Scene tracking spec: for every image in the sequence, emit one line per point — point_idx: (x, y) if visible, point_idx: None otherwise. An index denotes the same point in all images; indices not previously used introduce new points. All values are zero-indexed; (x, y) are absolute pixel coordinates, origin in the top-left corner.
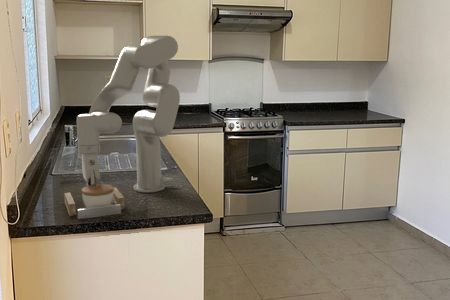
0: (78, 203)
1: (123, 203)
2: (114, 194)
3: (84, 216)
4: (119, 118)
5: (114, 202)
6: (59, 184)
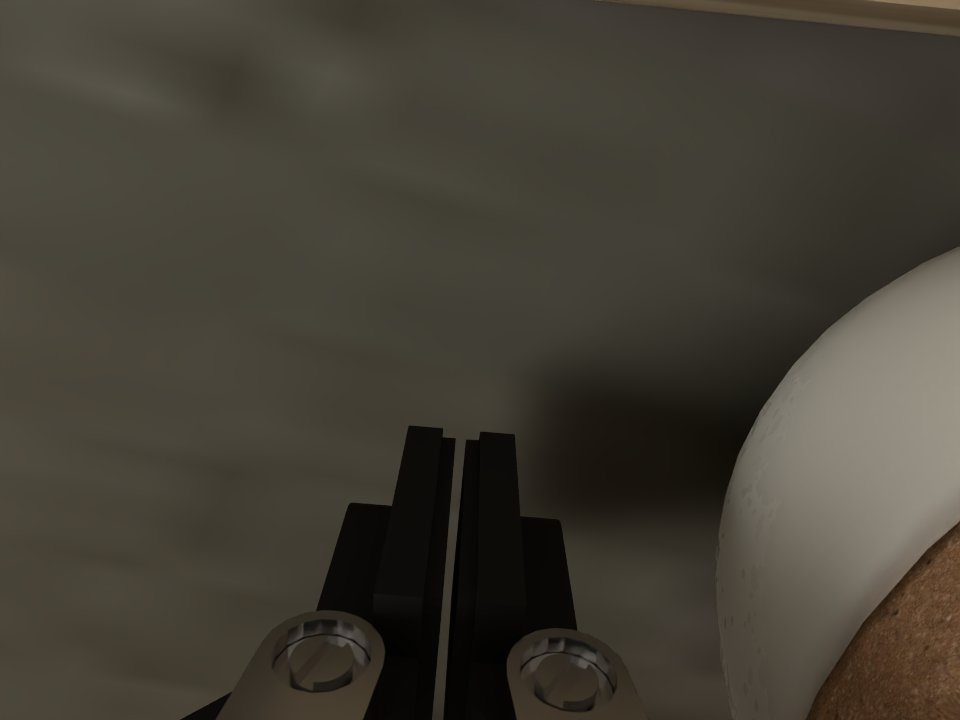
0: None
1: None
2: (929, 10)
3: None
4: None
5: (760, 15)
6: None
